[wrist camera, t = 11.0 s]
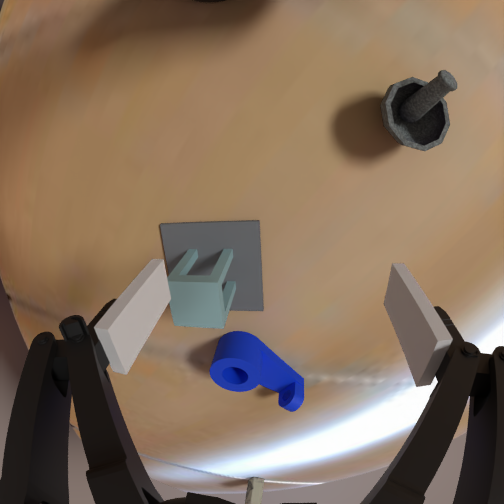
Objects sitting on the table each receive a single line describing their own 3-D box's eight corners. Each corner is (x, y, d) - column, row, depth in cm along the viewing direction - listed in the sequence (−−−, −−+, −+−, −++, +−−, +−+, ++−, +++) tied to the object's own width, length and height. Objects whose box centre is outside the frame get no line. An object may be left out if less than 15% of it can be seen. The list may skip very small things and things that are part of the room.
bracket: (209, 347, 56) (200, 374, 49) (237, 322, 52) (229, 350, 45) (281, 392, 59) (279, 419, 52) (311, 373, 56) (312, 401, 49)
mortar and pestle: (411, 158, 37) (450, 170, 26) (360, 126, 37) (388, 125, 26) (438, 100, 33) (481, 95, 22) (389, 65, 32) (423, 47, 21)
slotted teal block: (188, 249, 47) (164, 281, 37) (232, 248, 46) (217, 282, 36) (194, 287, 49) (174, 325, 40) (236, 288, 48) (223, 328, 39)
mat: (161, 223, 46) (160, 224, 45) (259, 220, 44) (259, 221, 43) (177, 306, 52) (175, 308, 52) (263, 309, 50) (263, 311, 50)
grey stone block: (254, 476, 81) (249, 505, 70) (264, 478, 82) (261, 507, 70) (247, 479, 83) (243, 507, 72) (258, 482, 84) (254, 509, 72)
